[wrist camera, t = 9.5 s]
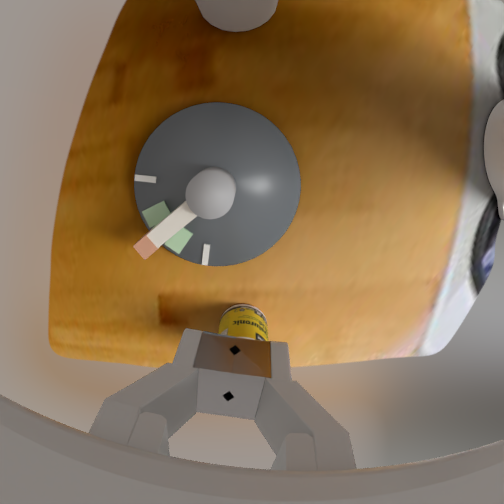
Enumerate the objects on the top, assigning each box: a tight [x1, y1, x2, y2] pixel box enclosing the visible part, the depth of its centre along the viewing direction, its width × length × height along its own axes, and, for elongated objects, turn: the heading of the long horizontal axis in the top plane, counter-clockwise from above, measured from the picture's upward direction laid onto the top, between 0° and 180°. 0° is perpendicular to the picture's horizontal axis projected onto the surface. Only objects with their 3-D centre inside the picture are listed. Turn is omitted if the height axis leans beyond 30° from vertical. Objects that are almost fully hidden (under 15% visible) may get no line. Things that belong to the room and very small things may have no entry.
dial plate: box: [134, 102, 301, 266], centre depth 29 cm, size 16×16×1 cm
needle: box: [133, 167, 236, 260], centre depth 28 cm, size 11×4×4 cm, turn 128°
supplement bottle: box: [218, 304, 268, 341], centre depth 31 cm, size 5×5×10 cm
